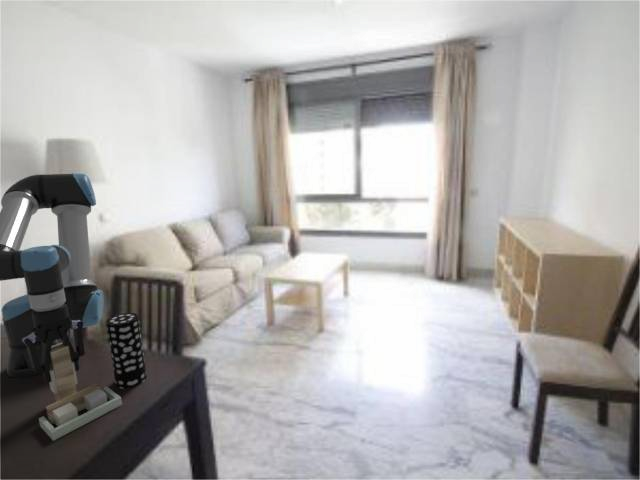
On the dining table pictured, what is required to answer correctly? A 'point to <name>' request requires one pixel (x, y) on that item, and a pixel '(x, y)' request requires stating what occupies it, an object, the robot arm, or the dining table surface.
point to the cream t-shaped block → (65, 381)
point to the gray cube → (95, 399)
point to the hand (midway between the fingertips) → (64, 386)
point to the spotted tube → (126, 350)
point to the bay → (82, 416)
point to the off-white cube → (64, 414)
